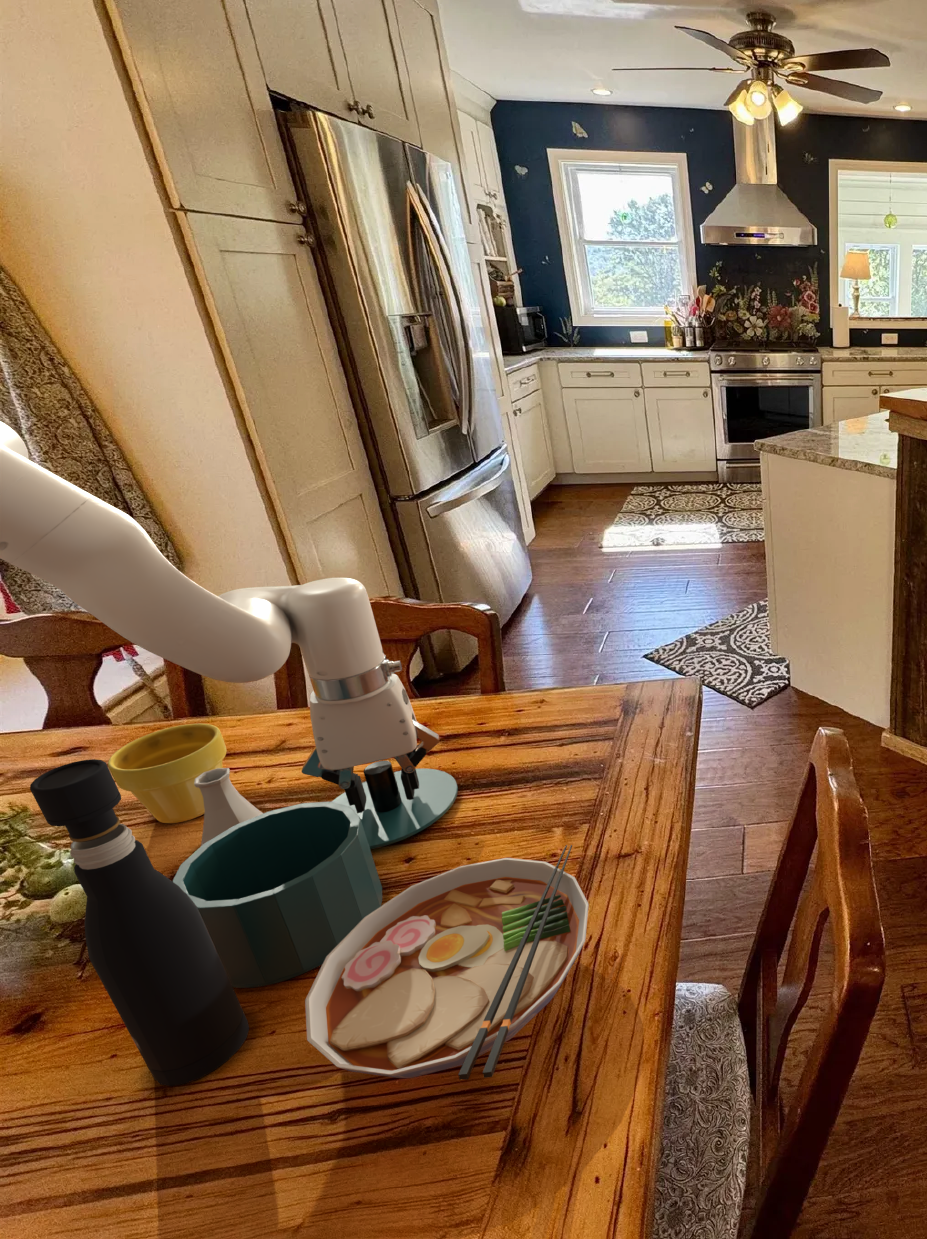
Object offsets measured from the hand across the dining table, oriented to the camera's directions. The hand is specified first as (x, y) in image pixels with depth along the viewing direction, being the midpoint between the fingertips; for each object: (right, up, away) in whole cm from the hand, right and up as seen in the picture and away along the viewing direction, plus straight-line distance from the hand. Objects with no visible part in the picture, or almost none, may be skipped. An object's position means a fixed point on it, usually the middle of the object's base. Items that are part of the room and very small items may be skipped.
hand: (386, 798), depth 91 cm
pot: (+2, -9, -16) cm, 19 cm away
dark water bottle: (+4, -14, -29) cm, 32 cm away
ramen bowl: (+25, -13, -24) cm, 37 cm away
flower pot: (-26, -2, +1) cm, 27 cm away
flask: (-15, -4, -5) cm, 16 cm away
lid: (0, -1, +1) cm, 1 cm away
